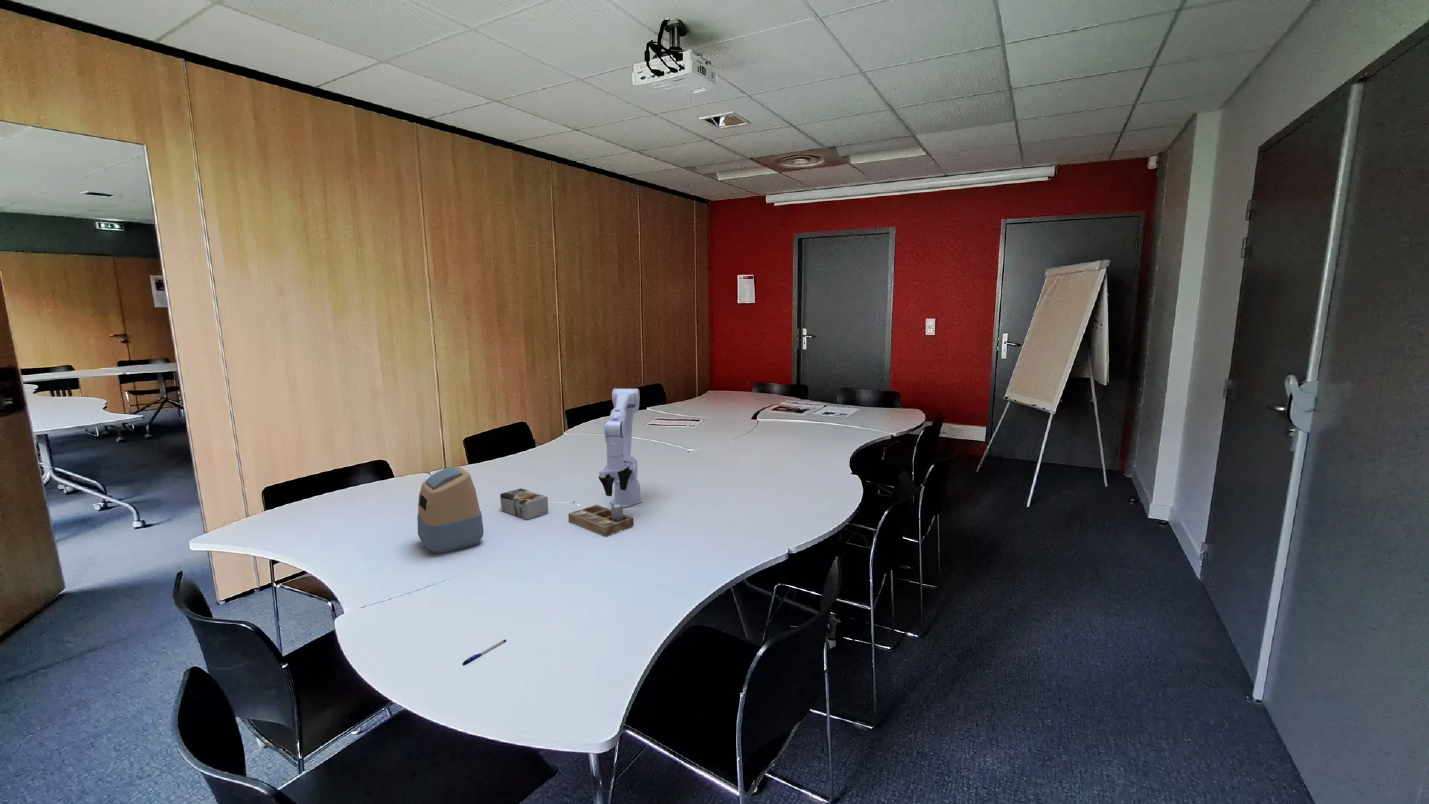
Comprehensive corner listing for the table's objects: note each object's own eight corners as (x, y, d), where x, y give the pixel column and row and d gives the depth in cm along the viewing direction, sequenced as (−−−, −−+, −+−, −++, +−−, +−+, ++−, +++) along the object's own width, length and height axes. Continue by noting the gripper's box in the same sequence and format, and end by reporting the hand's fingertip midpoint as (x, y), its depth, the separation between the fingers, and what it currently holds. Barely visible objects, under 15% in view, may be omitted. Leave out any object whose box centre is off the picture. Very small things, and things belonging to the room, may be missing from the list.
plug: (616, 524, 195) (615, 502, 194) (625, 526, 194) (625, 504, 192) (609, 528, 192) (608, 506, 190) (618, 530, 190) (618, 508, 189)
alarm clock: (415, 541, 180) (410, 470, 176) (470, 529, 190) (466, 461, 187) (429, 559, 167) (423, 483, 163) (488, 544, 178) (483, 472, 174)
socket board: (596, 512, 206) (596, 503, 206) (633, 526, 193) (633, 516, 193) (568, 521, 197) (568, 512, 197) (605, 536, 184) (605, 526, 184)
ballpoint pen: (464, 667, 117) (464, 662, 117) (461, 665, 118) (461, 661, 117) (506, 642, 126) (506, 637, 126) (504, 641, 126) (503, 636, 126)
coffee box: (526, 502, 197) (499, 493, 207) (527, 520, 198) (500, 510, 208) (548, 495, 204) (521, 487, 214) (548, 513, 205) (522, 503, 215)
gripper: (620, 449, 205) (620, 485, 207) (591, 457, 193) (593, 496, 195) (635, 451, 201) (636, 488, 204) (607, 460, 189) (608, 500, 191)
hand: (616, 492), depth 199 cm, fingers open, 7 cm apart
